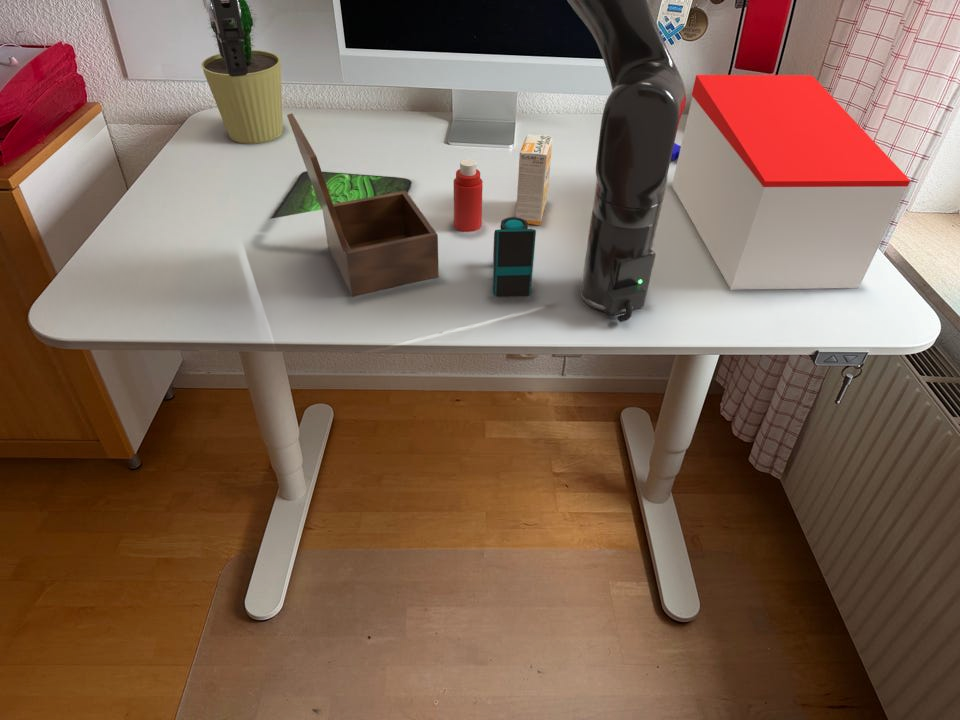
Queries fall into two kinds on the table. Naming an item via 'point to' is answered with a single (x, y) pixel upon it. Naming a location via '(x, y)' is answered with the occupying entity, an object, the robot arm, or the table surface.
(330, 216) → the chest lid
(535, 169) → the supplement box
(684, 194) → the red-topped white box
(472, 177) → the ketchup bottle
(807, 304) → the table surface
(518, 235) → the black and teal battery
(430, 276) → the chest
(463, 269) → the table surface
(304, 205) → the mouse mat
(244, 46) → the potted cactus
